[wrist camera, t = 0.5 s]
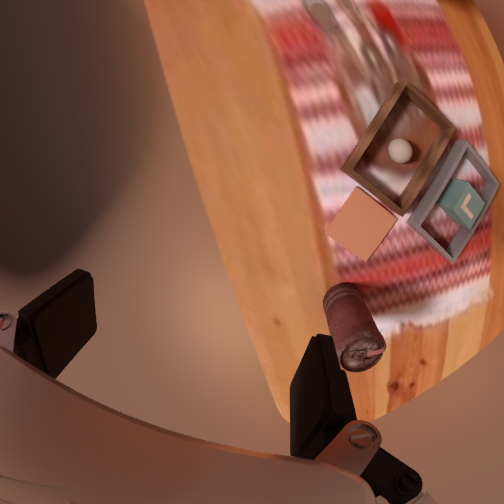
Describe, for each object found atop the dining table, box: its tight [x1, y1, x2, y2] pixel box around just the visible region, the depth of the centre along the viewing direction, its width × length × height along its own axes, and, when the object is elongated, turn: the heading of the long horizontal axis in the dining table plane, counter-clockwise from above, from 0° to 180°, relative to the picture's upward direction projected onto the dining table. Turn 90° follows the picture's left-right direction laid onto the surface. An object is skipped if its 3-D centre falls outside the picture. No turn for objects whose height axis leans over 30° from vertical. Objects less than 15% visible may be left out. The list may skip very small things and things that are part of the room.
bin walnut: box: [340, 79, 456, 217], centre depth 32 cm, size 16×10×3 cm, turn 148°
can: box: [323, 283, 386, 372], centre depth 35 cm, size 6×6×14 cm
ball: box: [388, 138, 412, 163], centre depth 32 cm, size 4×4×4 cm
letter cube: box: [436, 178, 485, 229], centre depth 32 cm, size 5×5×5 cm
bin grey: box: [407, 140, 500, 264], centre depth 33 cm, size 16×10×3 cm, turn 148°
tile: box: [324, 187, 397, 262], centre depth 37 cm, size 8×8×1 cm
